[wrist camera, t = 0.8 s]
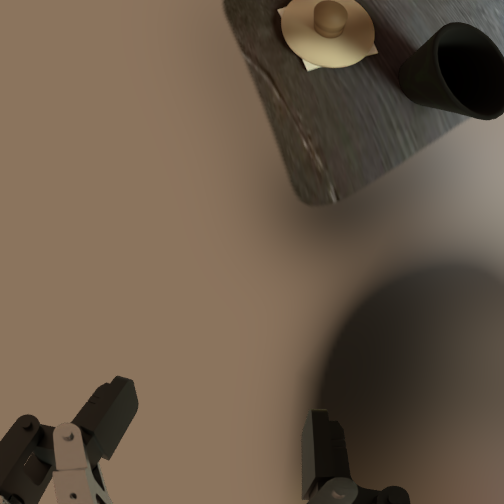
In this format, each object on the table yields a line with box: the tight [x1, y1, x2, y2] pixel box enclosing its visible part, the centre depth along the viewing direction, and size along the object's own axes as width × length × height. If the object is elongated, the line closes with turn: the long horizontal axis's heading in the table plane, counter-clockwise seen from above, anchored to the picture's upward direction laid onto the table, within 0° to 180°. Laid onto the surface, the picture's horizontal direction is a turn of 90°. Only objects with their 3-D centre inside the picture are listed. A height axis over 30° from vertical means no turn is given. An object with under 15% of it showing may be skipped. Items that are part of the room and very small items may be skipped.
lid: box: [281, 0, 375, 68], centre depth 19 cm, size 10×10×5 cm
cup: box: [399, 22, 504, 120], centre depth 17 cm, size 8×8×12 cm
